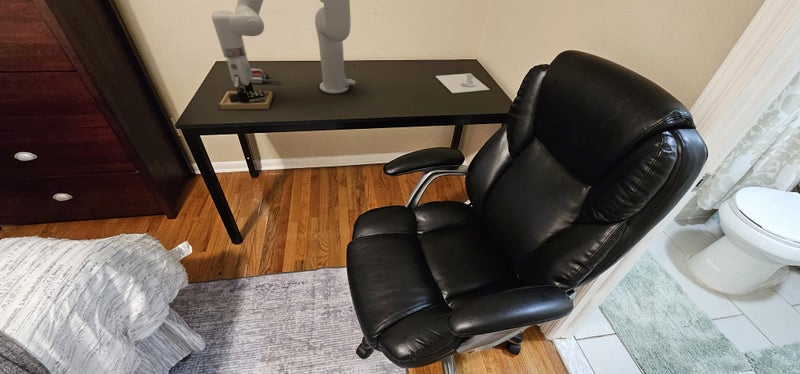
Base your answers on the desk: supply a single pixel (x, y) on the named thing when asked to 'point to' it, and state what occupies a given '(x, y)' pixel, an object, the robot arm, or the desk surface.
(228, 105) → the tray
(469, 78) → the teacup and saucer
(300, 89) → the desk surface
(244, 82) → the robot arm
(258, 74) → the walkie-talkie
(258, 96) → the remote control
